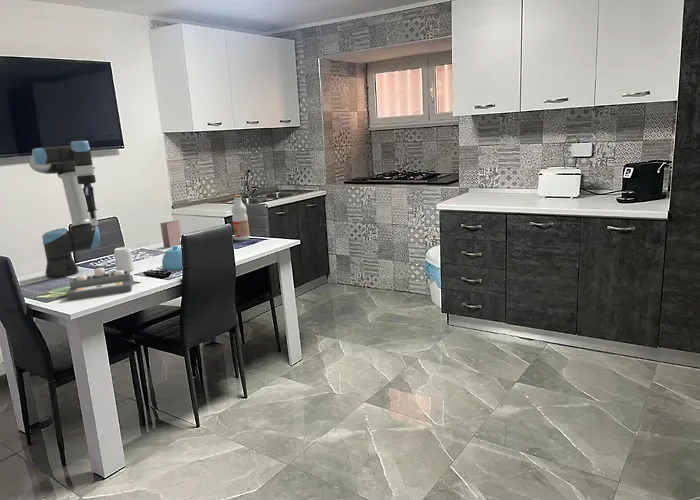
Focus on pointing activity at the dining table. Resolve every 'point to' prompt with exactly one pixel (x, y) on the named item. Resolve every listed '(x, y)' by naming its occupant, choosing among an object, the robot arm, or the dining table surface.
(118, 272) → the button
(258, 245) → the dining table surface
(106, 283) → the button panel
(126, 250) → the beverage can
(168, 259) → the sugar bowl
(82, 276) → the button
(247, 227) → the fruit juice
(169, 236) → the pink rectangular block
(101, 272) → the middle button
